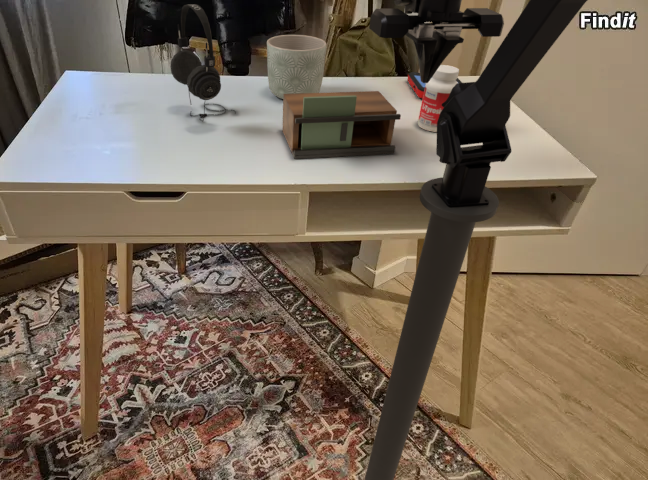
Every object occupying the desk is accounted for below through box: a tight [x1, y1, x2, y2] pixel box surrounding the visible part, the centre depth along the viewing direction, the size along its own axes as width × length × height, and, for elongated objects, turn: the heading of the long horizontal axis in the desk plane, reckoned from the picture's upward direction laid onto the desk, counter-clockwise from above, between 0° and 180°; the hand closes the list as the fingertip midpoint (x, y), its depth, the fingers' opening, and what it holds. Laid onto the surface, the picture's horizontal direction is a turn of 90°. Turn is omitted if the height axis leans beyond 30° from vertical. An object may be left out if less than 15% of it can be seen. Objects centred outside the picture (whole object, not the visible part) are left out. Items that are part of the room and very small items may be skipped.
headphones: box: [170, 3, 237, 122], centre depth 92 cm, size 15×11×20 cm
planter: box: [266, 34, 327, 100], centre depth 107 cm, size 12×12×11 cm
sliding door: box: [301, 95, 357, 150], centre depth 84 cm, size 1×9×9 cm, turn 100°
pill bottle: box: [417, 64, 460, 133], centre depth 95 cm, size 6×6×11 cm
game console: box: [407, 71, 463, 100], centre depth 114 cm, size 14×13×2 cm
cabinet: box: [281, 90, 402, 160], centre depth 89 cm, size 12×18×7 cm, turn 100°
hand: (424, 82), depth 79 cm, fingers closed
